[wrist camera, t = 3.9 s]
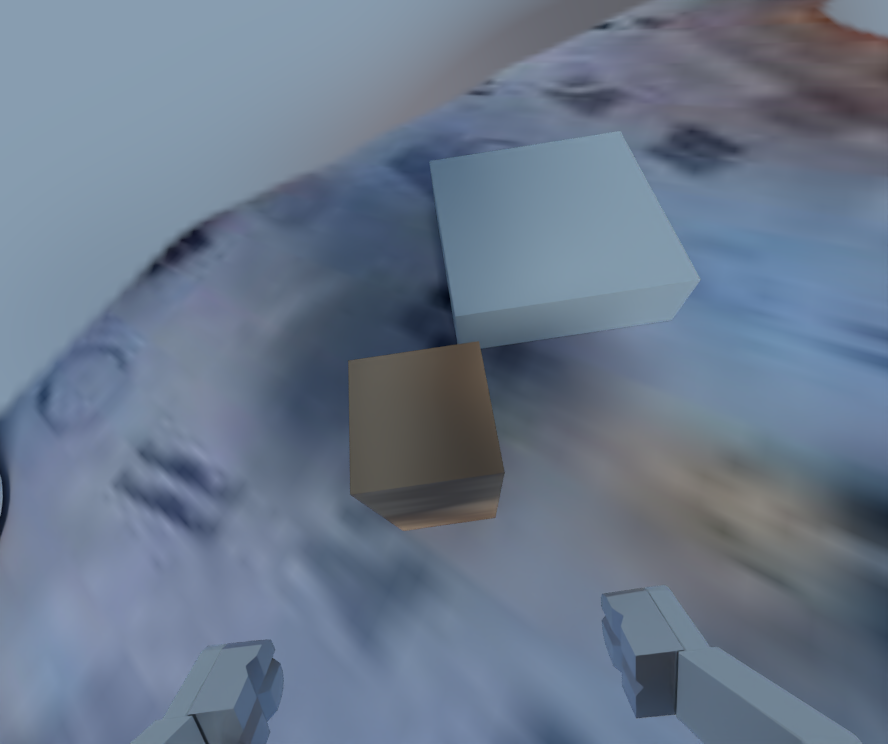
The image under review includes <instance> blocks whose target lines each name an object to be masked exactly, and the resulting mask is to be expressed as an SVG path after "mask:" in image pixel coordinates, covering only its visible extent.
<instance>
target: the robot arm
mask: <svg viewBox="0 0 888 744" xmlns="http://www.w3.org/2000/svg"><path fill="white" fill-rule="evenodd" d="M2 498H3V492H2V481H1V476H0V515H1V509H2ZM601 607H602V609H603V611H604V613H605V617H604V618H603V620H602V630H603V636H604V640H605V645H606V648H607V651H608V654H609V656H610V659H611V661H612V664H613V666H614V667H615V668H616V669H618V670H619V671H620V672H621V673H622V687H623V689H624V692H625V694H626V696H627V698H628V701H629V703H630V705H631V708H632V710H633V712H634V714H635V717H636V718H646V717H657V716H667V715H676V717H677V718H678V719H679V720H680V721H681V722H682V723H683V724H684V725H685V726H686V727H687V728H688V729H689V730H690V731H691V732H692V733H694V734H695V735H696V736H697V737H698V738H699V739H700V740H701V741H702V742H703V743H704V744H862V742H861V741H860V740H859V739H858V738H857V737H856V735H854V734H853V733H851V732H850V731H848V730H847V729H845V728H843V727H842V726H840V725H839V724H837V723H836V722H834V721H832V720H831V719H829V718H828V717H826V716H825V715H823V714H822V713H820V712H818V711H817V710H815V709H814V708H812V707H811V706H809V705H807V704H806V703H804V702H803V701H801V700H800V699H798V698H797V697H795V696H793V695H792V694H790V693H789V692H787V691H786V690H784V689H782V688H781V687H779V686H778V685H776V684H775V683H773V682H772V681H770V680H768V679H767V678H765V677H764V676H762V675H761V674H759V673H757V672H756V671H754V670H753V669H751V668H750V667H748V666H747V665H745V664H743V663H742V662H740V661H739V660H737V659H736V658H734V657H732V656H731V655H729V654H728V653H726V652H725V651H723V650H722V649H720V648H718V647H710V646H709V645H708V643H707V642H706V640H705V639H704V637H703V636H702V634H701V633H700V632H699V630H698V629H697V627H696V626H695V624H694V623H693V622H692V620H691V619H690V617H689V616H688V614H687V613H686V612H685V610H684V609H683V607H682V606H681V604H680V603H679V602H678V600H677V599H676V597H675V596H674V594H673V593H672V592H671V590H670V589H669V588H668V587H667V586H665V585H661V586H654V587H646V588H638V589H631V590H624V591H617V592H611V593H604V594H602V596H601ZM274 652H275V648H274V645H273V643H272V641H271V640H267V639H266V640H256V641H247V642H237V643H228V644H221V645H212V646H207V647H206V648H205V649H204V650H203V651H202V652H201V653H200V655H199V657H198V658H197V660H196V662H195V664H194V665H193V667H192V669H191V670H190V672H189V674H188V676H187V677H186V679H185V681H184V683H183V684H182V686H181V688H180V689H179V691H178V693H177V695H176V696H175V698H174V700H173V701H172V703H171V705H170V707H169V708H168V710H167V712H166V714H165V715H164V717H163V719H161V720H155V721H154V722H153V723H152V724H151V725H150V726H149V727H148V728H147V729H145V730H144V731H143V732H142V733H141V734H140V735H139V736H138V737H137V738H135V739H134V740H133V741H132V742H131V743H130V744H266V742H267V740H268V737H269V734H270V730H269V726H268V723H267V721H268V720H269V719H270V718H271V717H272V716H273V715H274V713H275V712H276V711H277V710H278V707H279V704H280V701H281V698H282V692H283V684H284V678H283V670H282V667H281V664H280V663H279V662H278V661H276V660H275V659H273V658H272V657H273V654H274Z"/></svg>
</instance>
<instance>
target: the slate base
mask: <svg viewBox="0 0 888 744" xmlns="http://www.w3.org/2000/svg"><path fill="white" fill-rule="evenodd" d="M429 162H430V170H431V178H432V186H433V195H434V203H435V210H436V216H437V222H438V228H439V234H440V240H441V246H442V252H443V259H444V265H445V271H446V277H447V283H448V289H449V295H450V301H451V308H452V314H453V320H454V326H455V332H456V338H457V344H463V343H470V342H477V341H479V343H480V349H482V348H489V347H495V346H502V345H509V344H516V343H522V342H529V341H536V340H542V339H549V338H556V337H563V336H569V335H576V334H583V333H590V332H596V331H603V330H610V329H616V328H623V327H630V326H637V325H643V324H650V323H657V322H664V321H670V320H672V319H673V318H674V316H675V315H676V313H677V312H678V311H679V309H680V308H681V306H682V305H683V304H684V302H685V301H686V300H687V298H688V297H689V295H690V294H691V293H692V291H693V290H694V288H695V287H696V286H697V284H698V283H699V281H700V280H701V279H700V277H699V276H698V274H697V272H696V270H695V268H694V266H693V264H692V263H691V261H690V259H689V257H688V255H687V253H686V252H685V250H684V248H683V246H682V244H681V242H680V241H679V239H678V237H677V235H676V233H675V231H674V229H673V228H672V226H671V224H670V222H669V220H668V218H667V217H666V215H665V213H664V211H663V209H662V207H661V205H660V204H659V202H658V200H657V198H656V196H655V194H654V193H653V191H652V189H651V187H650V185H649V183H648V181H647V180H646V178H645V176H644V174H643V172H642V170H641V169H640V167H639V165H638V163H637V161H636V159H635V158H634V156H633V154H632V152H631V150H630V148H629V146H628V145H627V143H626V141H625V139H624V137H623V135H622V134H621V132H620V131H618V132H611V133H605V134H599V135H592V136H586V137H579V138H573V139H567V140H560V141H554V142H548V143H541V144H535V145H528V146H522V147H516V148H509V149H503V150H496V151H490V152H484V153H477V154H471V155H464V156H458V157H452V158H445V159H439V160H432V161H429Z"/></svg>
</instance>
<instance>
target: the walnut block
mask: <svg viewBox="0 0 888 744" xmlns="http://www.w3.org/2000/svg"><path fill="white" fill-rule="evenodd" d="M348 372H349V442H350V495H351V496H353V497H354V498H356V499H357V500H359V501H360V502H362V503H363V504H365V505H366V506H367V507H369V508H370V509H372V510H373V511H375V512H376V513H378V514H379V515H381V516H382V517H384V518H385V519H387V520H388V521H389V522H391V523H392V524H394V525H395V526H397V527H398V528H400V529H401V530H403V531H406V530H413V529H420V528H427V527H434V526H441V525H448V524H455V523H462V522H469V521H476V520H483V519H490V518H495V516H496V512H497V507H498V502H499V497H500V492H501V487H502V482H503V478H504V473H505V472H504V467H503V462H502V457H501V452H500V447H499V441H498V436H497V431H496V426H495V421H494V416H493V410H492V405H491V400H490V395H489V390H488V385H487V379H486V374H485V369H484V364H483V359H482V354H481V349H480V343H479V341H477V342H470V343H463V344H456V345H450V346H443V347H436V348H430V349H423V350H416V351H409V352H403V353H396V354H389V355H383V356H376V357H369V358H362V359H356V360H349V361H348Z"/></svg>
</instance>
